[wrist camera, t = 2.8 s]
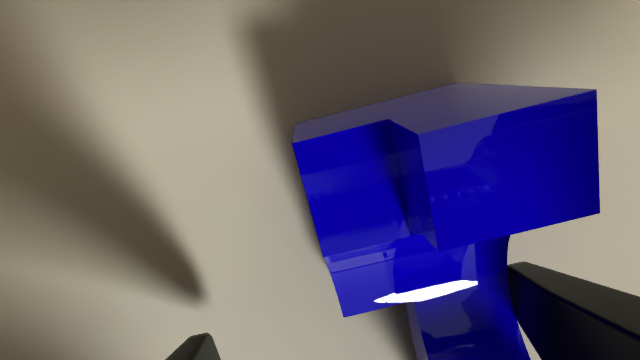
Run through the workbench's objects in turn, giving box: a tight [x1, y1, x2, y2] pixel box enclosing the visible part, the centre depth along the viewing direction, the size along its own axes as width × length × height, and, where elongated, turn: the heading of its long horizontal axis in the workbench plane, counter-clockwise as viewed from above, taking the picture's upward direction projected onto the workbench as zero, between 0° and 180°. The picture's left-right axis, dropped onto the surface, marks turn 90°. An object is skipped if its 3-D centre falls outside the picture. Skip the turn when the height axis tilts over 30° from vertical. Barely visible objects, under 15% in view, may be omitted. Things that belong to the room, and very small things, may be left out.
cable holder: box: [292, 83, 600, 360], centre depth 7 cm, size 8×4×4 cm, turn 14°
